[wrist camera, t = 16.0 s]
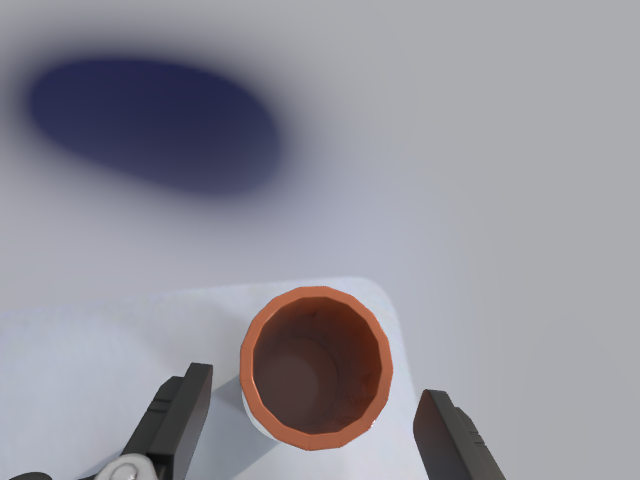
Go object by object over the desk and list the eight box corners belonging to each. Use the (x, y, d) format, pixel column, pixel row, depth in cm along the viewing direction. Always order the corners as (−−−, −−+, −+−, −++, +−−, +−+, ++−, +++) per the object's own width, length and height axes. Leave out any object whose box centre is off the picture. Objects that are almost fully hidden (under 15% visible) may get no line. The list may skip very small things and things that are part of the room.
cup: (230, 384, 21) (205, 367, 13) (294, 314, 24) (311, 259, 15) (301, 456, 20) (328, 493, 11) (360, 374, 23) (419, 352, 14)
